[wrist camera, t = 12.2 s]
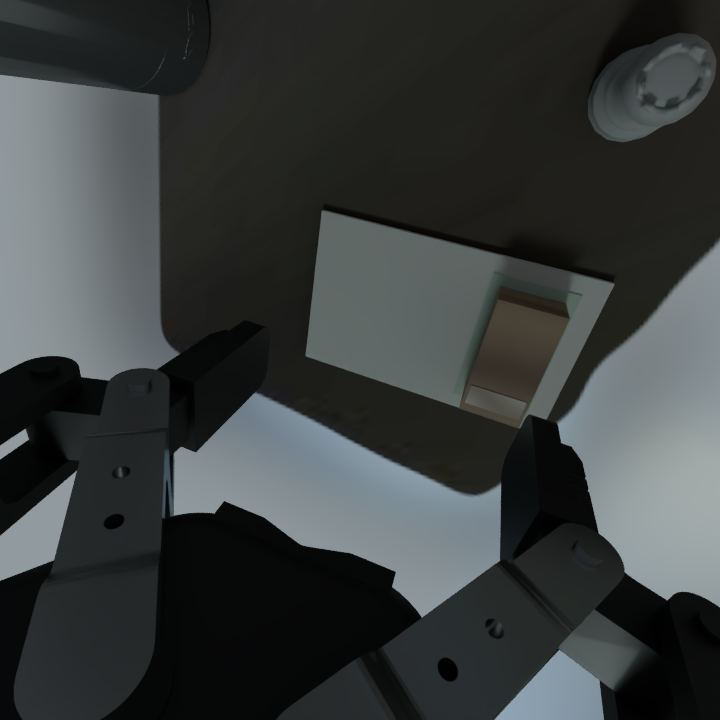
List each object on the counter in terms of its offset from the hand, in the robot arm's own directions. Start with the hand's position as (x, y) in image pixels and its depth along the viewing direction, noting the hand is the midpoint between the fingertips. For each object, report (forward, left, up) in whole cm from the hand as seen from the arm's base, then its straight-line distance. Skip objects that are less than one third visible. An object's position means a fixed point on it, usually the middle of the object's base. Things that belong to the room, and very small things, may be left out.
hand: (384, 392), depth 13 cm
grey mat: (-1, -6, -21) cm, 21 cm away
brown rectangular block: (+5, -6, -20) cm, 22 cm away
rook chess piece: (+6, +10, -21) cm, 24 cm away
